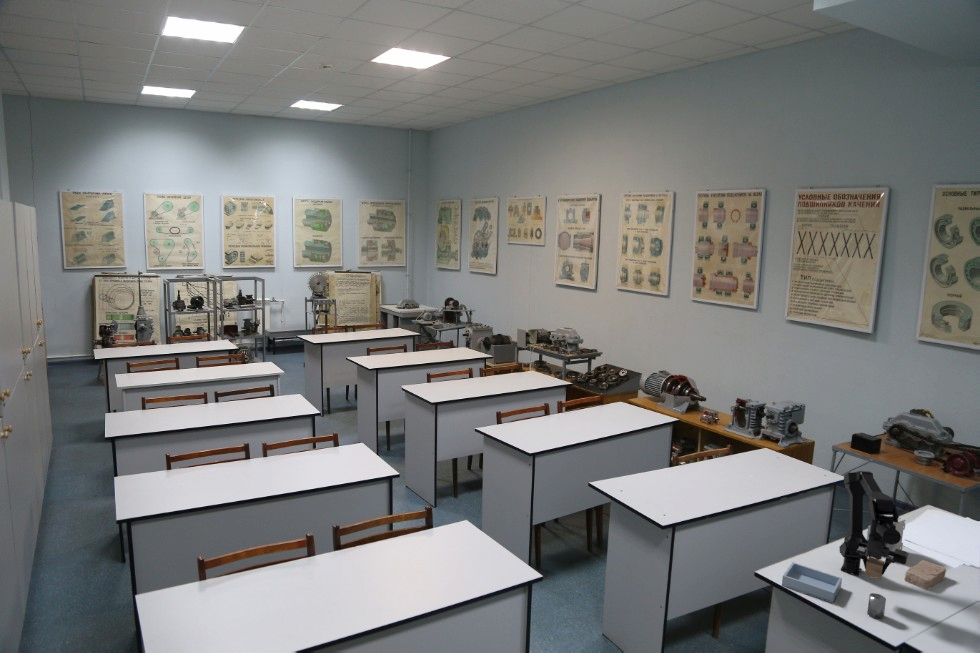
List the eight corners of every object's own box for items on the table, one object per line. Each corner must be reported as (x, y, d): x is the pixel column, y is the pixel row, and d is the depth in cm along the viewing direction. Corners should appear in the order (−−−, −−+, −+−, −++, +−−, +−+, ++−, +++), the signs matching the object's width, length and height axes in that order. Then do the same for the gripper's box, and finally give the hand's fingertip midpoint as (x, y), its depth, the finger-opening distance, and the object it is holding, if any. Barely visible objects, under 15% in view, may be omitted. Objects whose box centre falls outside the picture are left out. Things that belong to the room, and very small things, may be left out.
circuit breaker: (862, 551, 271) (866, 518, 269) (884, 545, 277) (888, 512, 275) (879, 559, 265) (884, 525, 262) (901, 553, 270) (905, 519, 268)
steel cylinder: (868, 609, 229) (870, 591, 228) (884, 615, 225) (887, 597, 224) (865, 615, 225) (868, 597, 224) (882, 621, 222) (884, 603, 221)
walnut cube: (867, 569, 237) (869, 556, 237) (883, 573, 234) (884, 561, 234) (865, 574, 234) (866, 561, 233) (880, 579, 230) (882, 566, 230)
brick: (927, 591, 242) (928, 579, 241) (903, 581, 249) (904, 570, 248) (945, 579, 251) (947, 568, 251) (921, 569, 258) (923, 558, 257)
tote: (791, 571, 254) (792, 562, 253) (841, 587, 242) (842, 578, 242) (781, 585, 243) (782, 575, 243) (832, 603, 232) (834, 593, 231)
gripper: (845, 531, 231) (841, 571, 234) (906, 548, 219) (901, 590, 222) (852, 520, 240) (847, 559, 242) (910, 536, 228) (905, 577, 230)
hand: (874, 571), depth 234 cm, fingers closed on walnut cube, 5 cm apart
